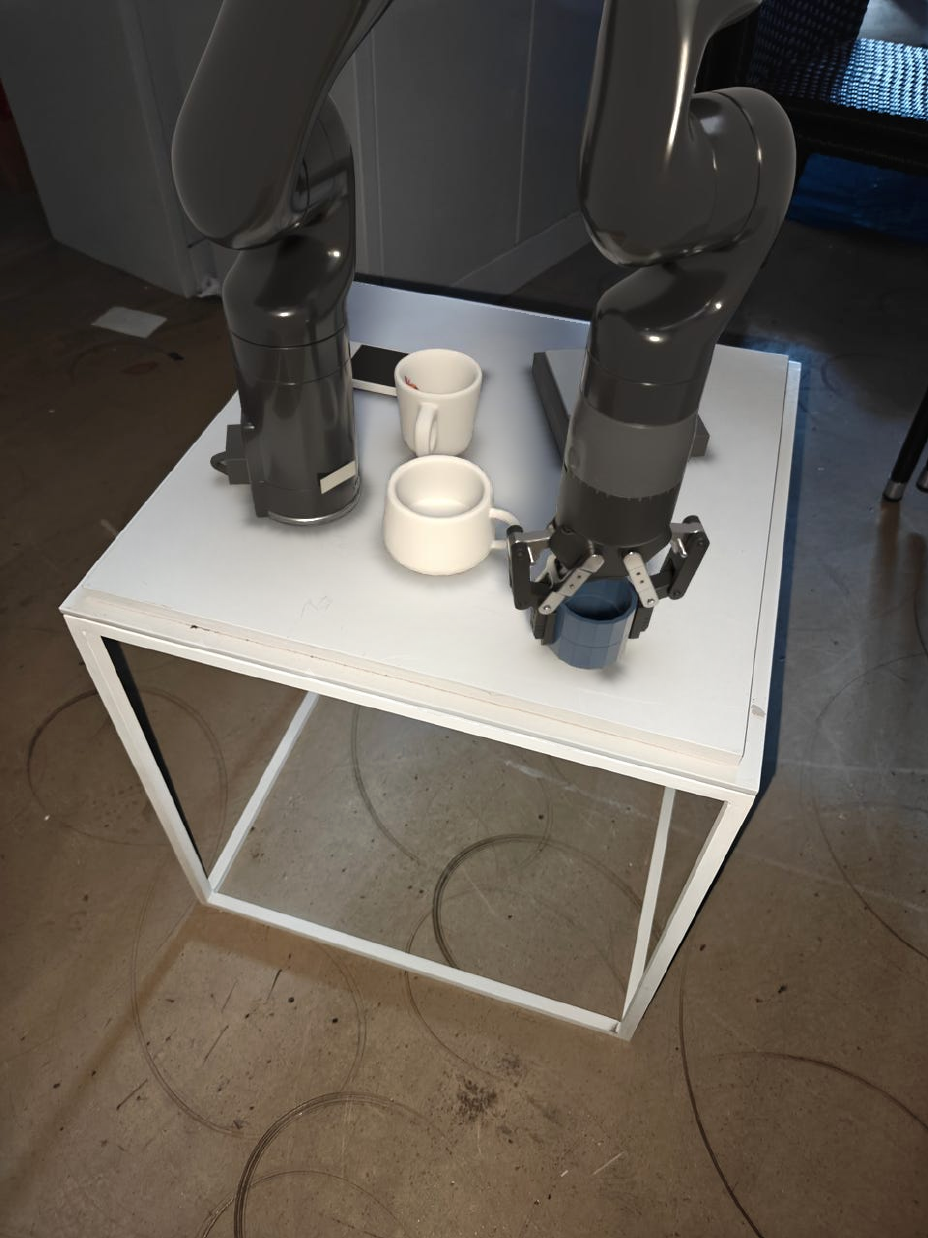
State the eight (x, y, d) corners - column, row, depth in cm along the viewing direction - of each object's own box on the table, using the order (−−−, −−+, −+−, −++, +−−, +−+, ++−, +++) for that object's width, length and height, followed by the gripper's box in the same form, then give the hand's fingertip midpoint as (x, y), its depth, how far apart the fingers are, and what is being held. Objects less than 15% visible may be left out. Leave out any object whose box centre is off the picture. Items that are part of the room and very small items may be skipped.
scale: (563, 464, 85) (567, 438, 83) (531, 372, 96) (534, 346, 93) (704, 456, 87) (711, 430, 84) (657, 366, 97) (663, 341, 95)
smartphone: (345, 346, 97) (345, 338, 97) (481, 373, 95) (481, 365, 94) (319, 380, 93) (318, 372, 92) (461, 410, 90) (461, 402, 89)
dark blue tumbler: (554, 676, 66) (563, 627, 62) (539, 617, 70) (547, 566, 66) (632, 670, 67) (647, 621, 63) (613, 612, 71) (626, 562, 67)
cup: (463, 493, 81) (466, 420, 76) (379, 480, 82) (375, 406, 76) (485, 425, 89) (490, 353, 83) (407, 414, 89) (406, 342, 84)
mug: (364, 562, 75) (361, 507, 70) (407, 493, 81) (406, 439, 77) (501, 600, 72) (506, 545, 68) (534, 526, 79) (540, 471, 74)
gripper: (718, 414, 59) (664, 592, 71) (501, 423, 57) (485, 604, 69) (757, 487, 54) (692, 665, 66) (522, 499, 52) (500, 679, 64)
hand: (586, 633), depth 68 cm, fingers closed on dark blue tumbler, 6 cm apart
